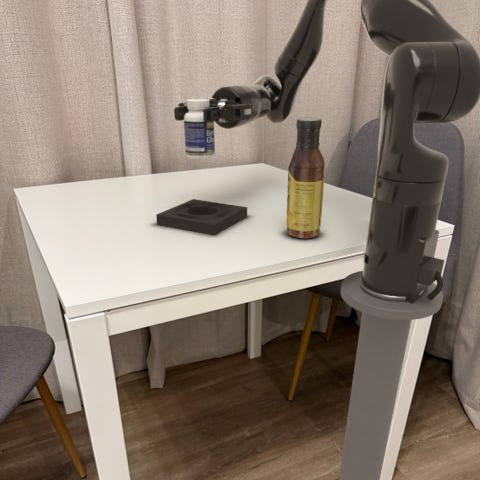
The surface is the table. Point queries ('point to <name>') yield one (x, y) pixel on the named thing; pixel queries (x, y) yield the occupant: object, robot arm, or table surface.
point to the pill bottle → (198, 131)
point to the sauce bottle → (305, 181)
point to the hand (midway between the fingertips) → (190, 115)
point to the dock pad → (202, 216)
